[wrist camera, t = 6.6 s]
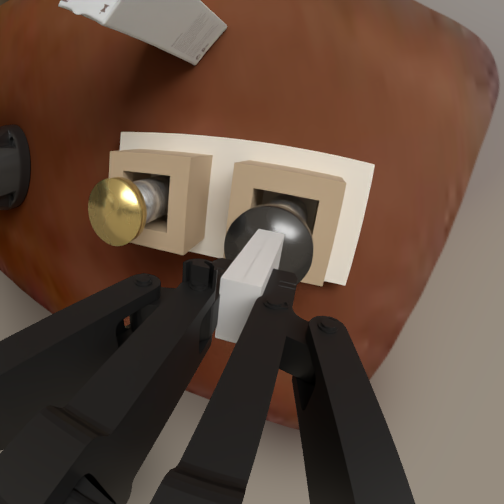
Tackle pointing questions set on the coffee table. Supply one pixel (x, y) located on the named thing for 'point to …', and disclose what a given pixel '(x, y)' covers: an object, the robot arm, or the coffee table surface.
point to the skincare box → (157, 23)
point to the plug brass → (127, 207)
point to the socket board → (277, 155)
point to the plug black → (277, 220)
